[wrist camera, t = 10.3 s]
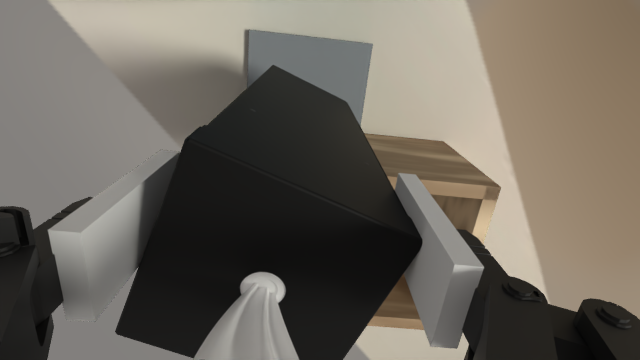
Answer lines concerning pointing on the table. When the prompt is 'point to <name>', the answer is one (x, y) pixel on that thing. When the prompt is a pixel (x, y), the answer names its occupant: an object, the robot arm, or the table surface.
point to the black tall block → (271, 233)
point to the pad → (314, 63)
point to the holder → (449, 193)
